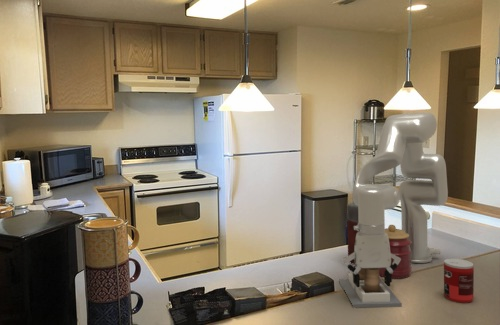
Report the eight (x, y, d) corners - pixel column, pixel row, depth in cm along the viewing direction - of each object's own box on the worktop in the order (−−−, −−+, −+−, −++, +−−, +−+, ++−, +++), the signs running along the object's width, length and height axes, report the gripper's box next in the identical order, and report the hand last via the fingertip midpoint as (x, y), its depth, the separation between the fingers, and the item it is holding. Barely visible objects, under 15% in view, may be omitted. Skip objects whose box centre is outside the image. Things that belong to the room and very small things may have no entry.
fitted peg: (368, 281, 131) (367, 255, 130) (372, 286, 127) (371, 259, 126) (355, 282, 131) (354, 255, 130) (358, 287, 127) (358, 259, 126)
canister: (387, 281, 134) (387, 230, 132) (366, 269, 146) (366, 222, 145) (419, 276, 137) (419, 226, 136) (396, 265, 150) (396, 219, 148)
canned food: (447, 290, 124) (447, 256, 123) (475, 296, 119) (476, 261, 118) (440, 299, 118) (440, 263, 117) (470, 305, 113) (471, 268, 112)
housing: (379, 281, 134) (379, 271, 134) (401, 306, 114) (401, 294, 114) (339, 282, 134) (338, 272, 134) (353, 307, 114) (353, 296, 114)
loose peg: (381, 299, 117) (381, 270, 116) (366, 299, 117) (366, 270, 116) (376, 293, 121) (376, 265, 120) (362, 293, 121) (362, 265, 120)
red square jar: (385, 263, 152) (384, 192, 150) (362, 268, 147) (361, 194, 146) (370, 257, 160) (369, 189, 158) (347, 261, 156) (346, 191, 154)
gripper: (345, 233, 114) (346, 290, 115) (405, 231, 114) (405, 289, 115) (339, 227, 121) (340, 281, 123) (396, 225, 121) (396, 279, 122)
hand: (372, 285), depth 119 cm, fingers open, 8 cm apart
